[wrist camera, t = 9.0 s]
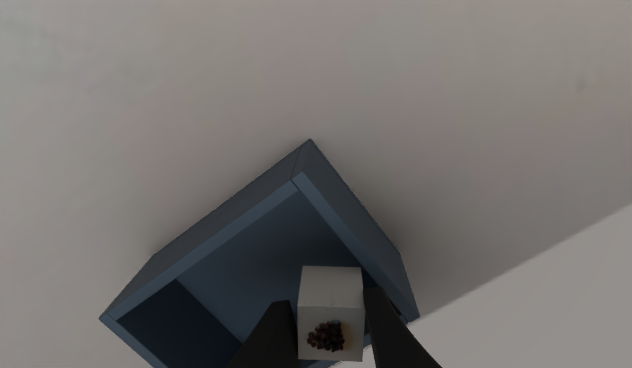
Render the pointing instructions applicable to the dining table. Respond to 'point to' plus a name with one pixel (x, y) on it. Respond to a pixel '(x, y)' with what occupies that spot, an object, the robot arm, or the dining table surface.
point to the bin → (254, 266)
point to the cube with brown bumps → (331, 314)
